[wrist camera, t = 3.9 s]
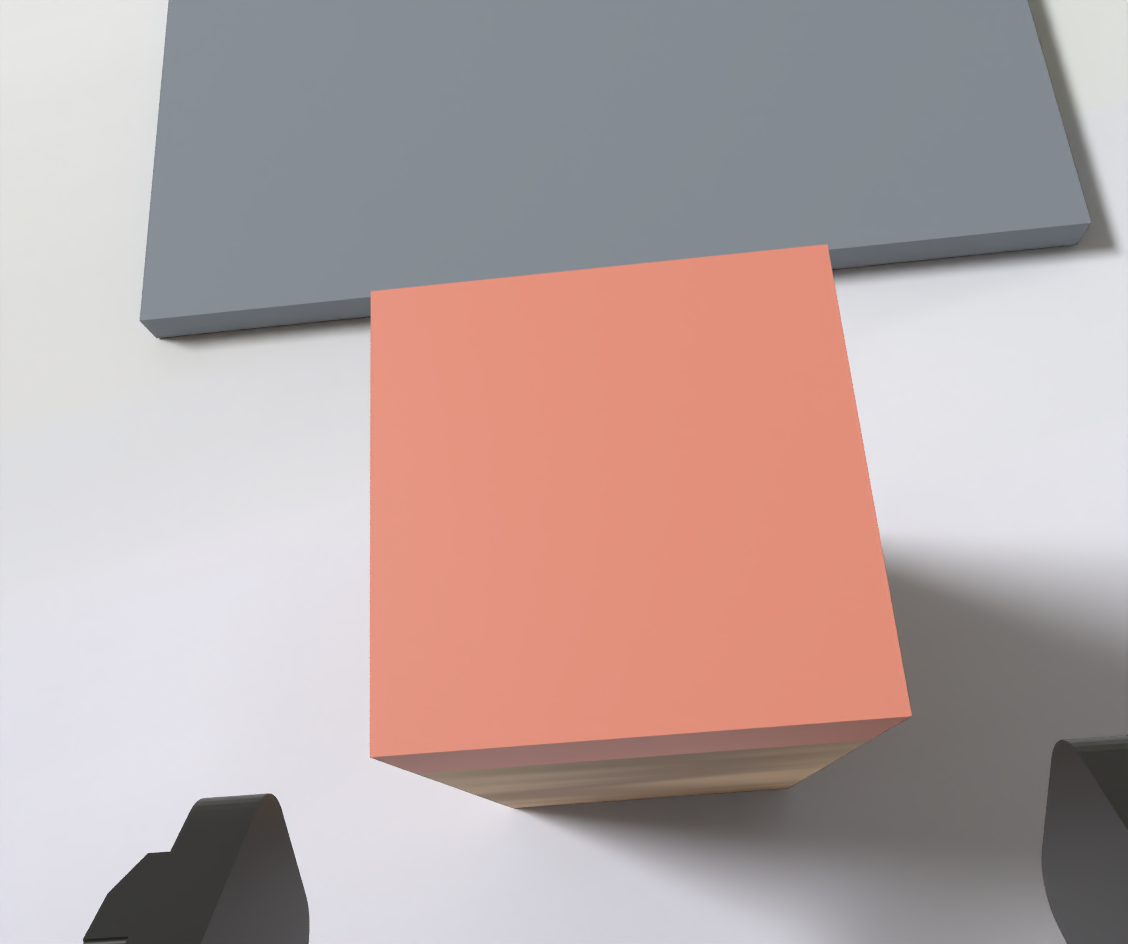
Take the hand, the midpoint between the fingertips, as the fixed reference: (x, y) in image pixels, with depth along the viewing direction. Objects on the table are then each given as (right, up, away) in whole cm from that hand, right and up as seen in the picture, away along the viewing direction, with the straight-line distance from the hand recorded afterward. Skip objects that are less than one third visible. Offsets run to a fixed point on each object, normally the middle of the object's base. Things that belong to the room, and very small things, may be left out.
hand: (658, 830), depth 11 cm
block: (0, 0, +9) cm, 9 cm away
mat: (-1, +14, +14) cm, 20 cm away
